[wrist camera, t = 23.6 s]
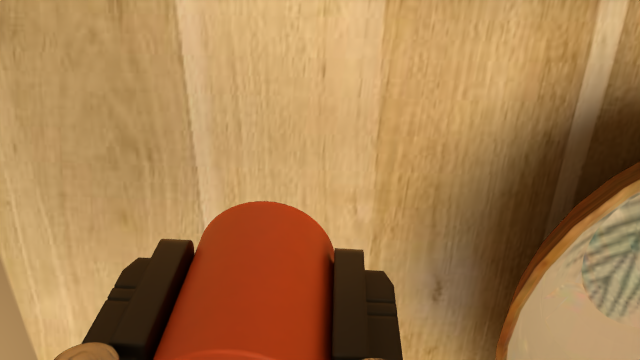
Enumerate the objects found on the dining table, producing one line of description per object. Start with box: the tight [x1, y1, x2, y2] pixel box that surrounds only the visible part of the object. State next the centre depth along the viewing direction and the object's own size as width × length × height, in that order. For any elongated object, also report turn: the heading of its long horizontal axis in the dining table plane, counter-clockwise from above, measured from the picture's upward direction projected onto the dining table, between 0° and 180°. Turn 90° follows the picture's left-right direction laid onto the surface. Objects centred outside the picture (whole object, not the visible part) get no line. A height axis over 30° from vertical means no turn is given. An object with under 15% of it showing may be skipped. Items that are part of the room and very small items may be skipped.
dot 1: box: [153, 201, 334, 360], centre depth 12 cm, size 4×4×5 cm
